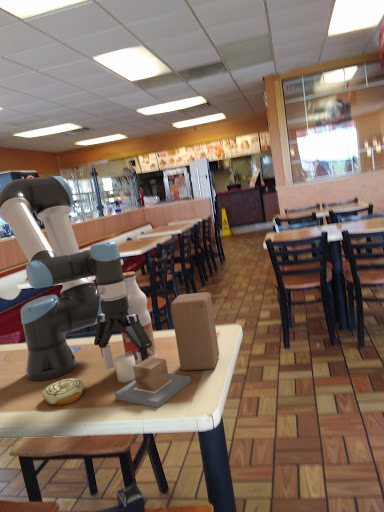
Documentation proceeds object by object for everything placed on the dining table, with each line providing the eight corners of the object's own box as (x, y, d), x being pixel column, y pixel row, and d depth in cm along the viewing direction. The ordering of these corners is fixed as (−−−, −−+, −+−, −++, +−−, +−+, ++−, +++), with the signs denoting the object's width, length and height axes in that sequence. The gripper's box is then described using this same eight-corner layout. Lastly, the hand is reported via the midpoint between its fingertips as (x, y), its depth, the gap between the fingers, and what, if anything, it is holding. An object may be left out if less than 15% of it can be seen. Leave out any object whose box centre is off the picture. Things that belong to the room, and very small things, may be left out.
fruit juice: (163, 358, 130) (148, 270, 126) (137, 369, 124) (121, 277, 120) (146, 353, 137) (132, 269, 133) (121, 363, 131) (105, 276, 127)
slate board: (115, 399, 107) (114, 393, 107) (150, 375, 118) (149, 370, 118) (158, 407, 99) (156, 401, 99) (191, 382, 110) (190, 376, 110)
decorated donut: (50, 412, 106) (47, 398, 105) (40, 398, 115) (38, 385, 114) (90, 397, 111) (87, 383, 110) (78, 384, 120) (75, 372, 119)
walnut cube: (136, 388, 108) (132, 366, 107) (151, 378, 112) (148, 357, 112) (154, 391, 104) (150, 369, 103) (169, 381, 109) (165, 359, 108)
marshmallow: (113, 381, 119) (109, 360, 118) (127, 372, 123) (123, 353, 122) (128, 383, 115) (124, 362, 115) (141, 374, 120) (138, 355, 119)
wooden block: (215, 370, 116) (204, 299, 113) (180, 372, 118) (169, 303, 115) (220, 355, 125) (210, 290, 123) (187, 358, 127) (177, 294, 125)
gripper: (73, 301, 120) (87, 371, 123) (137, 301, 106) (152, 380, 108) (92, 294, 126) (105, 361, 129) (156, 293, 112) (169, 368, 115)
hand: (126, 370), depth 119 cm, fingers open, 13 cm apart
